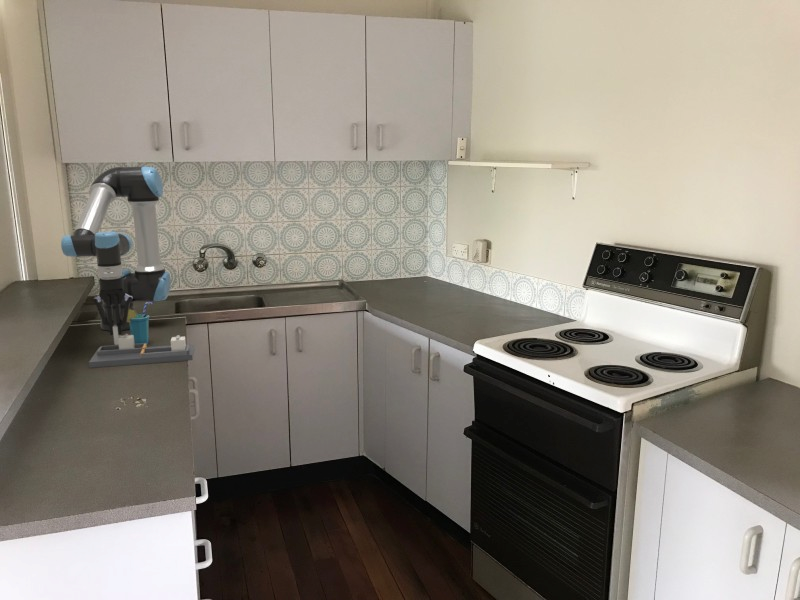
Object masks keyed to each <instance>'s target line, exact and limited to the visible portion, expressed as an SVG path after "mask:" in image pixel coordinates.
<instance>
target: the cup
mask: <svg viewBox="0 0 800 600" xmlns="http://www.w3.org/2000/svg"><path fill="white" fill-rule="evenodd" d="M147 305H148V306H149V305H154V301H145V303H144V305H143V311H142V313H137V314H136V313H135V311H134V310H131V309H129V312H128V318H127V322H129V326H130V329H129V331H130V335H134V344H139V343H146V344H147V345H148V344H149V320H150V315H149V314H146V310H147ZM123 315H124V314H123Z"/></svg>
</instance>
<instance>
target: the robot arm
mask: <svg viewBox="0 0 800 600" xmlns="http://www.w3.org/2000/svg"><path fill="white" fill-rule="evenodd" d="M163 190H164V186H163V181H162V177H161V175H160V173H159V171H158V170H157V169H156V167H151V166H114V167H111V168H109V169H106V170H105V171H102V172H101V173H100V174H99V175H98V176H97V177H96V178H95V179H94V180H93V182H92V183H91V185H90V187H89V189H88V192H89V197H88V199H87V202H86V204H85V206H84V208H83V210H82V213H81V215H80V217H79V220H78V222H77V223H76V227H75V230H74V231H73V233H72V234H69V235H65V236H63V237H62V238H61V242H60V243H61V244H60V247H61V251H62V253H63V255H64V256H65V257H72V258H73V257H76V258H83V257H88V258H89V257H96V261H97V273H98V278H99V279H98V281H99V282H98V283H99V292H98V295H97V296H95V297H94V298H92V302H93V304H94V305H95V306H96V307H97V308H96V309H97V311H98V313H99V316H100V330H103V331H109V334H110V336H113V342H114V343H113V345H119V344H118V338H119V337H120V336H122V334H123V331H125V330H130V326H129V322H127V318H128V312H129V309H131V310H134V311H135V313H136V314H138V312H137V311H136V308H135V302H159V301H160V302H161V301H165V300H166V299H167V298H168V296H169V294H170V291H171V281H172V279H171V274H170V272H168V271H166V270H165V269H166V268H165V267H164V266H163V265H162V264H161V256H160V255H161V254H160V245H159V244H160V243H159V232H158V223H157V222H158V221H157V211H156V210H157V209H156V205H157V204H158V203H159V200H160V199H159V198H160V197H162V196H163V194H164V191H163ZM120 197H121V198H127V203H129V205H130V206H132V216H133V227H134V236H135V245H136V256H137V266H136V267H135V268H134V272H132V270H131V269H130V268H125V269H124V268H122V256H124V255H126V254H128V253H129V252H130V251H131V249H132V247H133V242H132V239H131V238H130V236H128V235H127V234H125V233H118V232H116V231H101V232H100V230H101V227H102V224H103V222H104V220H105V217H106V215H107V212H108V210H109V207H110V205H111V204H112V203H113V202H114V201H115V200H116V198H120ZM123 314H124V315H123Z"/></svg>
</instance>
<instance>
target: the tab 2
mask: <svg viewBox="0 0 800 600" xmlns="http://www.w3.org/2000/svg"><path fill="white" fill-rule="evenodd" d="M186 341H187V340H186V336H180V334H178V335H176V336H172V337H171V339H170V345H171V351H181V350H186V344H187V342H186Z"/></svg>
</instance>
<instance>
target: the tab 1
mask: <svg viewBox="0 0 800 600" xmlns="http://www.w3.org/2000/svg"><path fill="white" fill-rule="evenodd" d="M118 344H119V349H132V348H135V344H134V335H131V334H129V333H124V335H120V337H119V338H118Z"/></svg>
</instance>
